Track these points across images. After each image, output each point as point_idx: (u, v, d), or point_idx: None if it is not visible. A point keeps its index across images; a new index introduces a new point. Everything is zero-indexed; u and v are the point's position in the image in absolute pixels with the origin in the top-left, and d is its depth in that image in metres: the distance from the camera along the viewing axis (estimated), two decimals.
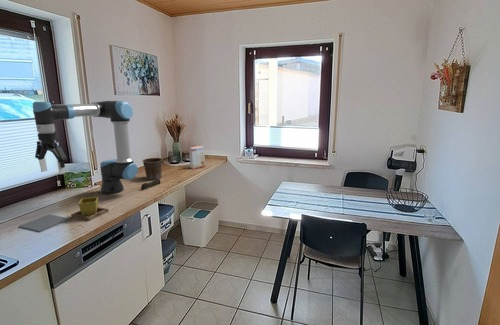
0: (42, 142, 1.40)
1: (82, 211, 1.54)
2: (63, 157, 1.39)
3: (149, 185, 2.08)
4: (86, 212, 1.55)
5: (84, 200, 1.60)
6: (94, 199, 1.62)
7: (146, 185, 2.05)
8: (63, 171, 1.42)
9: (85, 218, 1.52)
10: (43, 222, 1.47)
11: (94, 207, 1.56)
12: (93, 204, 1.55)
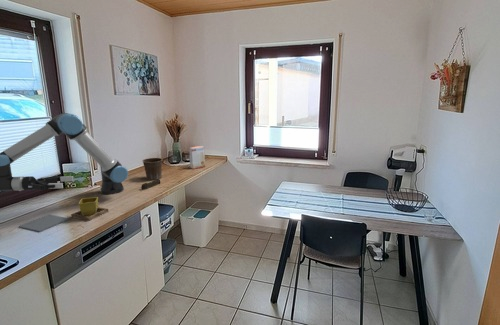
0: None
1: (82, 211, 1.54)
2: (41, 188, 1.42)
3: (149, 185, 2.08)
4: (86, 212, 1.55)
5: (84, 200, 1.60)
6: (94, 199, 1.62)
7: (146, 185, 2.05)
8: (59, 185, 1.46)
9: (85, 218, 1.52)
10: (43, 222, 1.47)
11: (94, 207, 1.56)
12: (93, 204, 1.55)
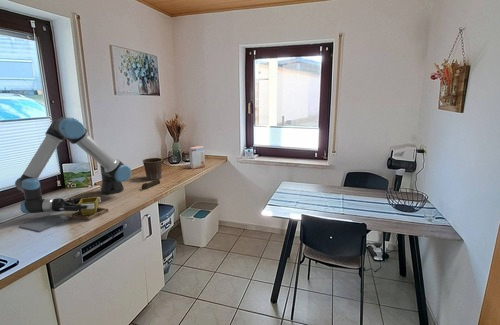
0: None
1: (82, 211, 1.54)
2: (74, 209, 1.49)
3: (149, 185, 2.08)
4: (86, 212, 1.55)
5: (84, 200, 1.60)
6: (94, 199, 1.62)
7: (146, 185, 2.05)
8: (91, 205, 1.53)
9: (85, 218, 1.52)
10: (43, 222, 1.47)
11: (94, 207, 1.55)
12: None
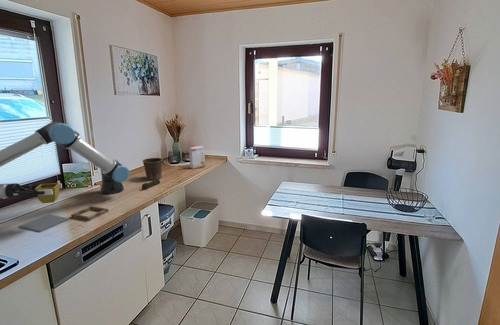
0: None
1: (39, 197, 1.41)
2: (29, 195, 1.36)
3: (150, 185, 2.08)
4: (44, 198, 1.42)
5: (43, 186, 1.47)
6: (55, 185, 1.49)
7: (146, 185, 2.05)
8: (49, 191, 1.40)
9: (85, 218, 1.52)
10: (43, 222, 1.47)
11: (53, 193, 1.43)
12: (52, 190, 1.42)
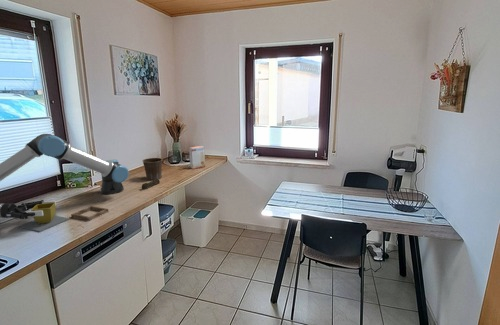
0: None
1: (35, 218, 1.43)
2: (19, 217, 1.36)
3: (149, 185, 2.08)
4: (40, 219, 1.44)
5: (40, 206, 1.49)
6: (51, 205, 1.51)
7: (146, 185, 2.05)
8: (39, 212, 1.39)
9: (85, 218, 1.52)
10: None
11: (49, 214, 1.45)
12: (47, 210, 1.44)
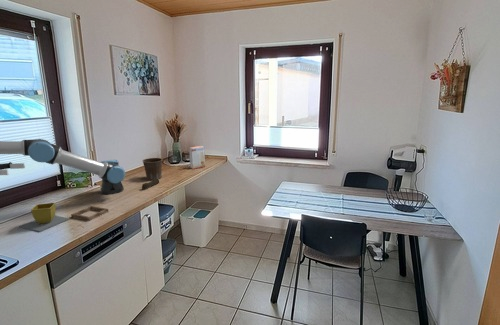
0: None
1: (35, 218, 1.43)
2: None
3: (149, 185, 2.08)
4: (40, 219, 1.44)
5: (40, 206, 1.49)
6: (51, 205, 1.51)
7: (146, 185, 2.05)
8: (4, 171, 1.35)
9: (85, 218, 1.52)
10: None
11: (49, 214, 1.45)
12: (48, 210, 1.44)
